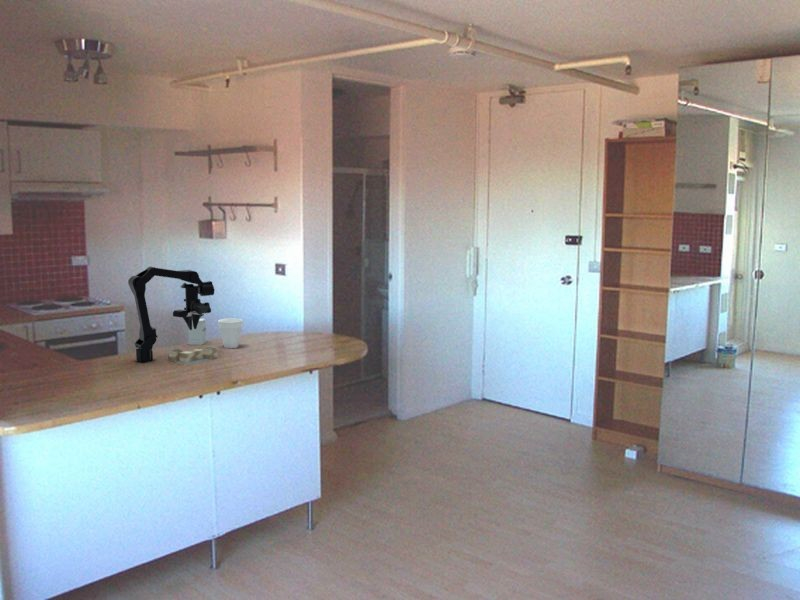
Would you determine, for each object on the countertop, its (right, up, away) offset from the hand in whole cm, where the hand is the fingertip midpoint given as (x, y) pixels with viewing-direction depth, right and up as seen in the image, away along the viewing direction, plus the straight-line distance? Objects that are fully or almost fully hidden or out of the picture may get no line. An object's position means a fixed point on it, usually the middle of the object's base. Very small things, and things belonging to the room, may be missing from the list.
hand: (192, 329), depth 347 cm
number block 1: (-5, -14, -11) cm, 18 cm away
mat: (+3, -14, -8) cm, 16 cm away
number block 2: (+10, -13, -6) cm, 17 cm away
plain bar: (+3, -14, -9) cm, 16 cm away
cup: (+13, -10, +22) cm, 27 cm away
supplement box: (-6, -9, +29) cm, 31 cm away
